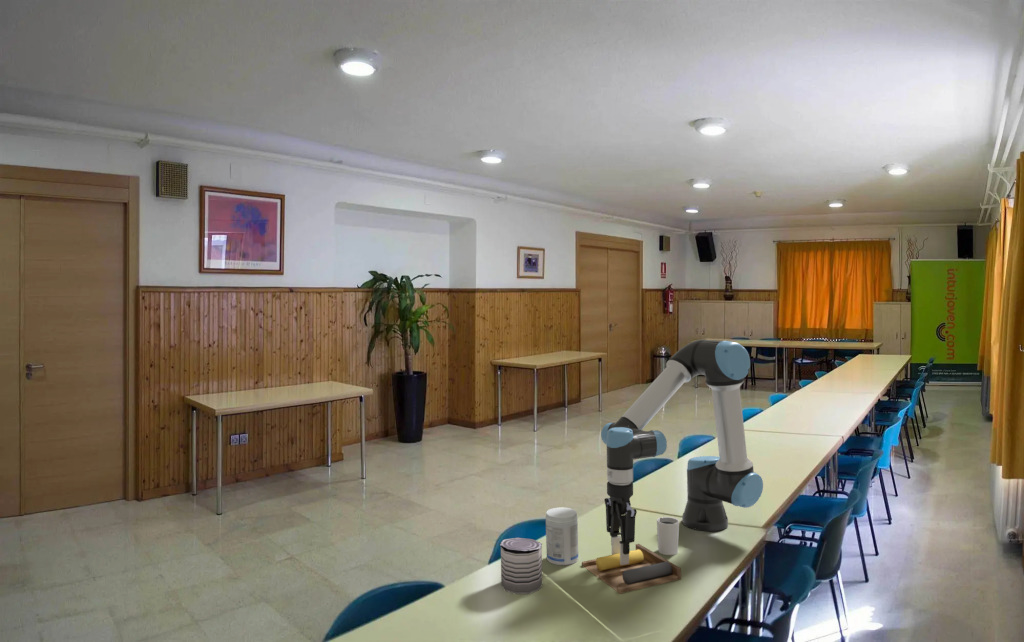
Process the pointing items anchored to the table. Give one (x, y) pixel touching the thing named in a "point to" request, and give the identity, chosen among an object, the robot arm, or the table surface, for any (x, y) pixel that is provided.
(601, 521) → the table surface
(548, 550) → the supplement tub
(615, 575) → the walnut slot rack
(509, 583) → the can
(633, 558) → the ochre rod
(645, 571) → the charcoal rod
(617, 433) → the robot arm
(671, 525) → the white cup
